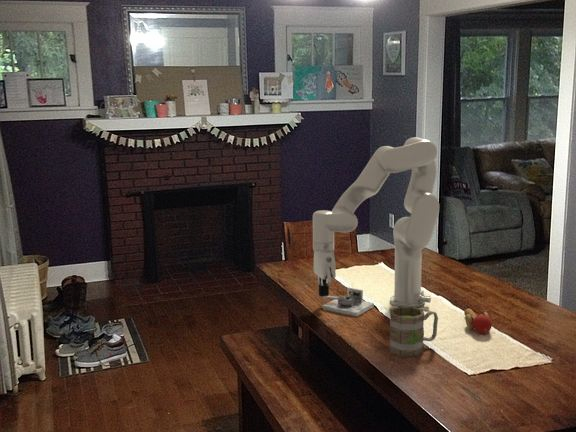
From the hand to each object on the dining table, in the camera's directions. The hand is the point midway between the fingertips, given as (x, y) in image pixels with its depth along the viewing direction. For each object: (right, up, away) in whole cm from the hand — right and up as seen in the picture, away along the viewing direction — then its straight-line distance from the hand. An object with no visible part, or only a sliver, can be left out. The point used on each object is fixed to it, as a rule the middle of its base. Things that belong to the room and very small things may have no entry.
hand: (323, 295), depth 234 cm
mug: (+25, -12, -35) cm, 45 cm away
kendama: (+49, -8, -18) cm, 53 cm away
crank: (+5, -3, +2) cm, 6 cm away
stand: (+9, -5, +1) cm, 10 cm away
